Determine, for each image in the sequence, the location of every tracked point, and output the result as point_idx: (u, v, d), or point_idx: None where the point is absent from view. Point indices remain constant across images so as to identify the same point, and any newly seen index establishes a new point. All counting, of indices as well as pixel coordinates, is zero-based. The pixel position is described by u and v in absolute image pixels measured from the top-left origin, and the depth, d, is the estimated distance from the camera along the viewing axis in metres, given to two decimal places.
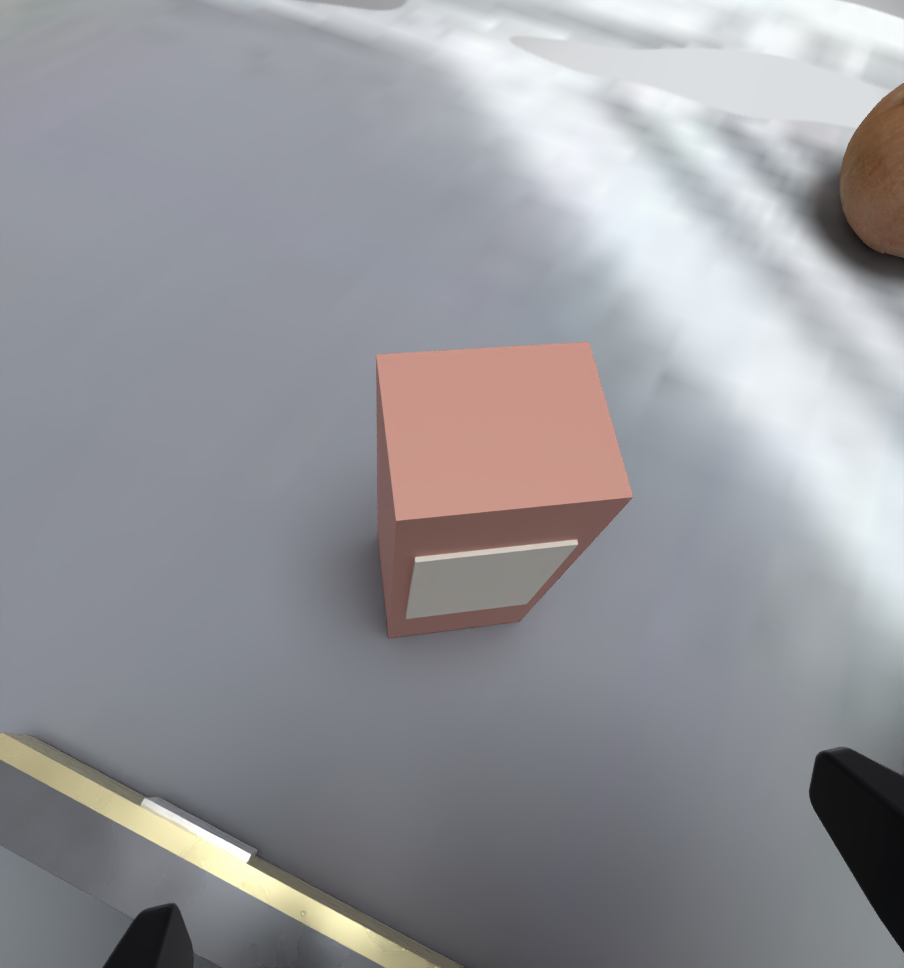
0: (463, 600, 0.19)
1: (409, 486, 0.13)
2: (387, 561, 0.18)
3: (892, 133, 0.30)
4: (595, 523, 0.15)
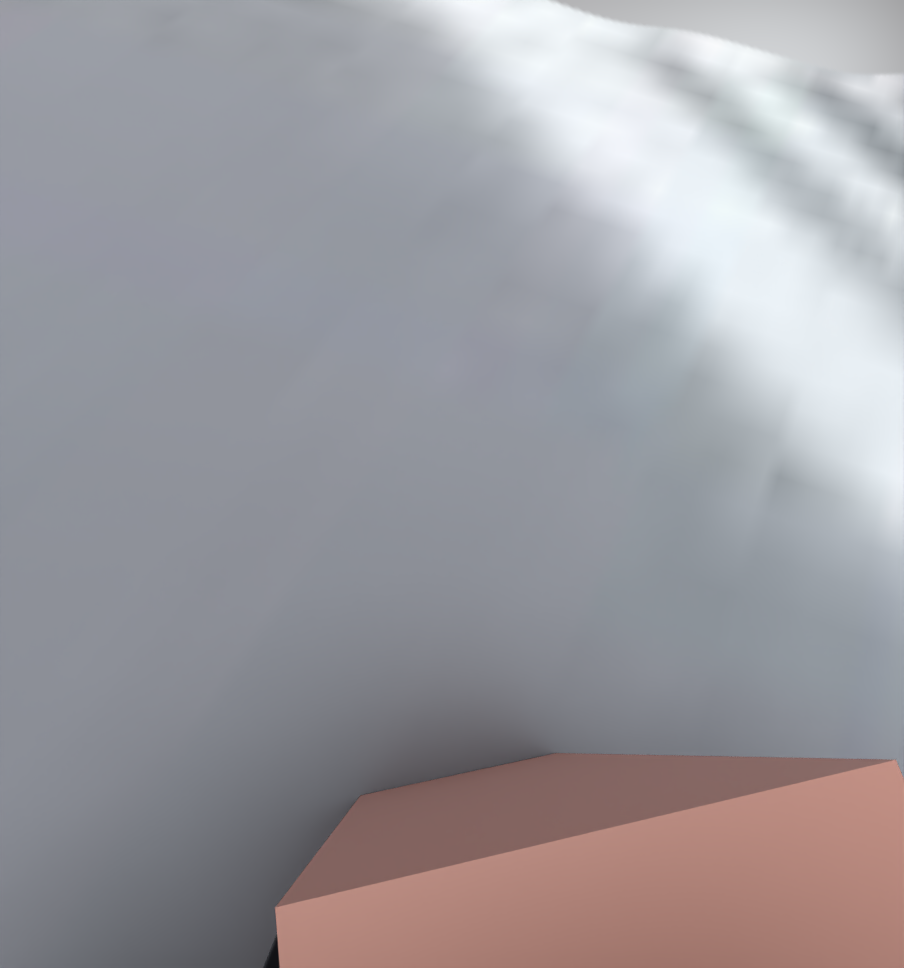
0: None
1: None
2: None
3: None
4: None
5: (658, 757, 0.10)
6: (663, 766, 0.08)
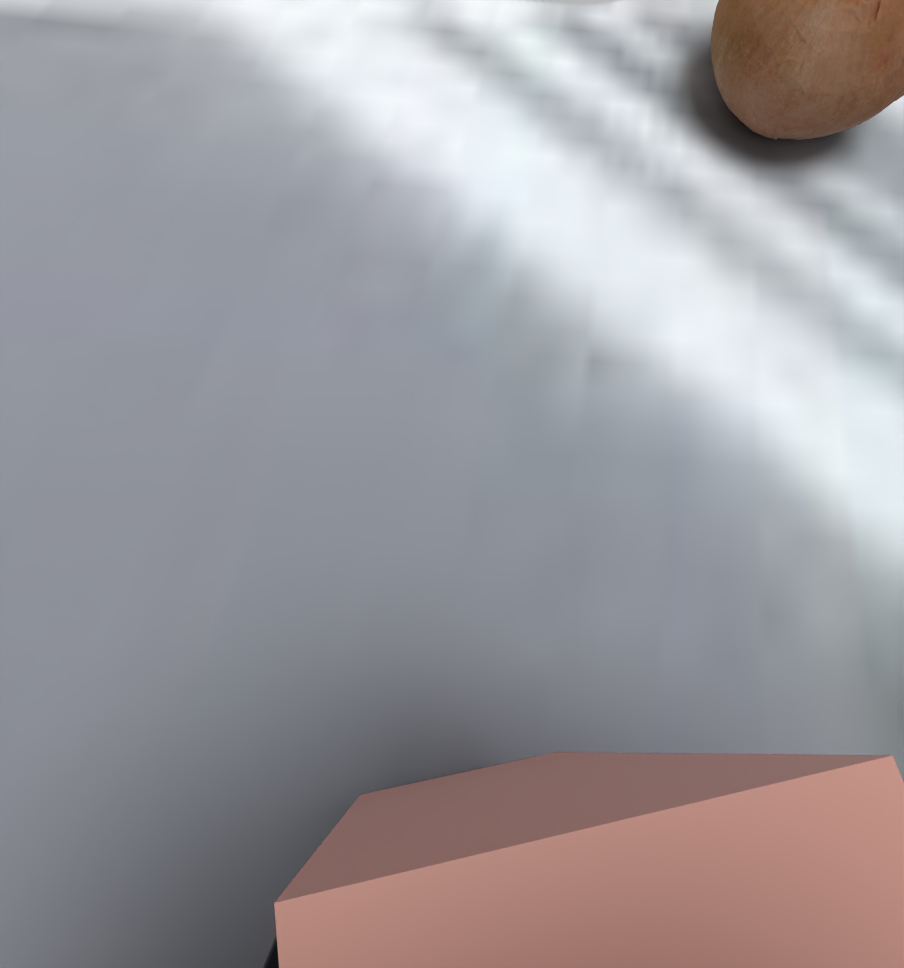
0: None
1: None
2: None
3: (764, 4, 0.25)
4: None
5: (656, 755, 0.10)
6: (661, 763, 0.08)
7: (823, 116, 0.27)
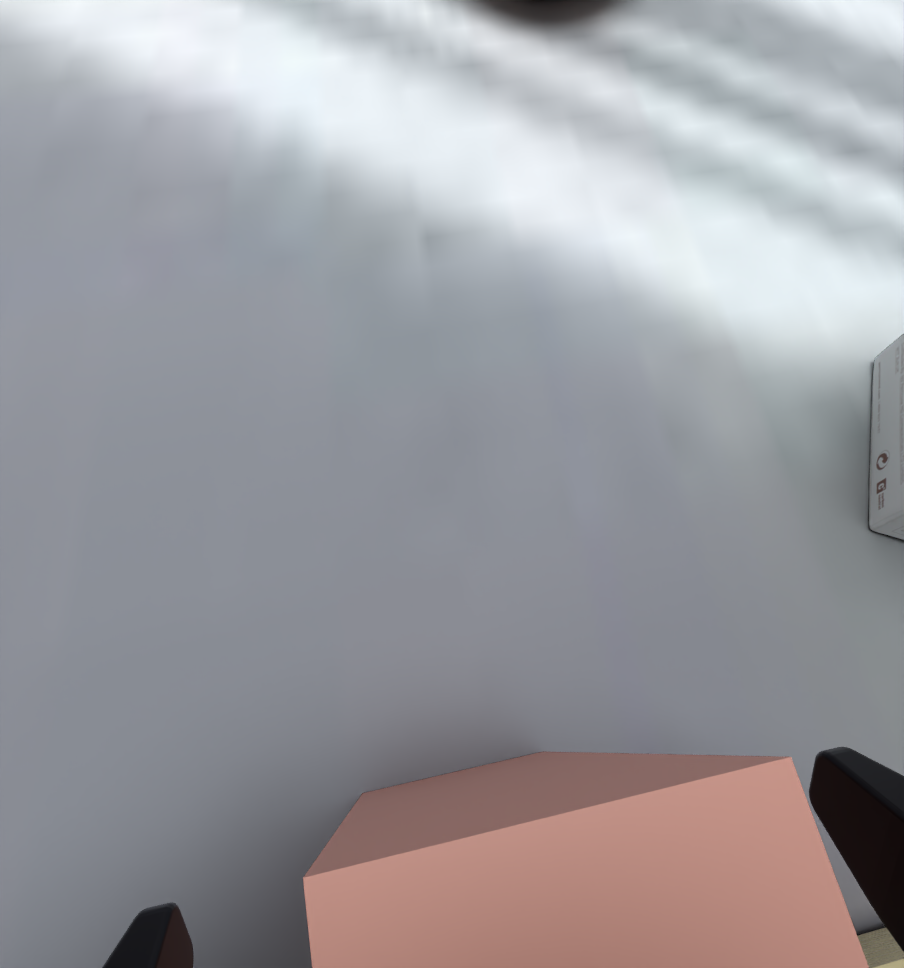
0: None
1: None
2: None
3: None
4: None
5: (624, 755, 0.11)
6: (624, 763, 0.10)
7: None
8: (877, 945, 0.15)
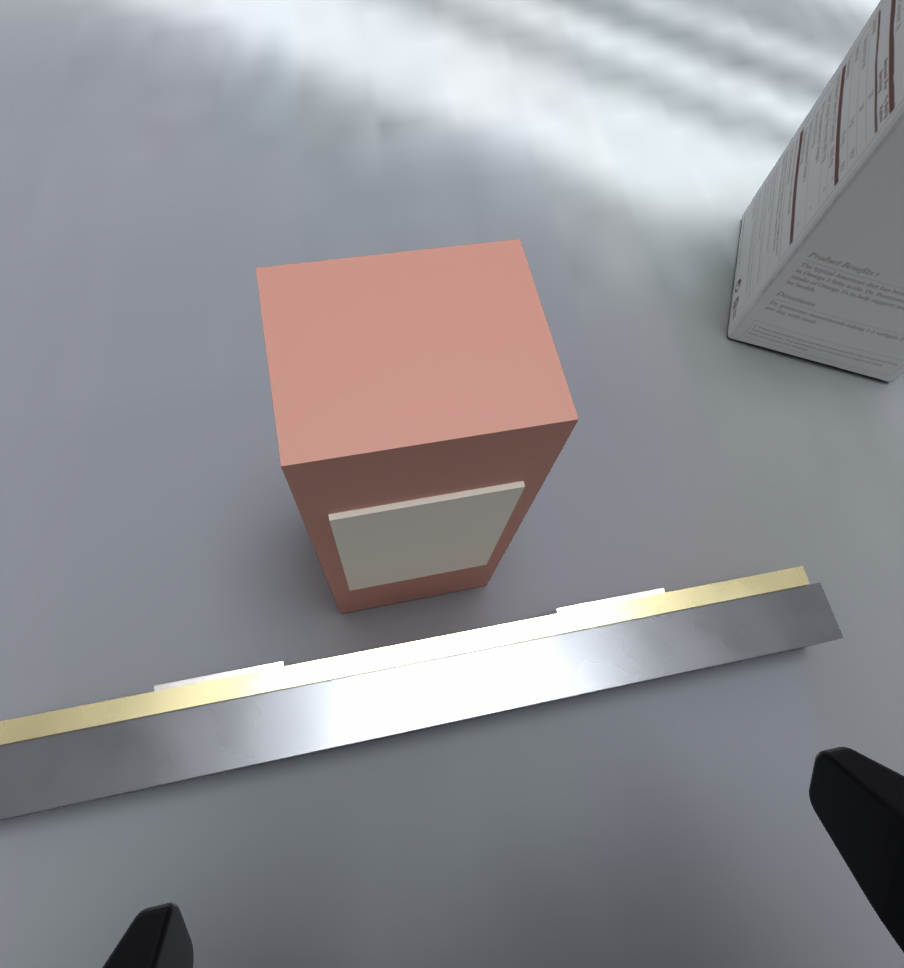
0: (409, 564, 0.17)
1: (298, 423, 0.10)
2: None
3: None
4: (540, 457, 0.12)
5: None
6: None
7: None
8: None
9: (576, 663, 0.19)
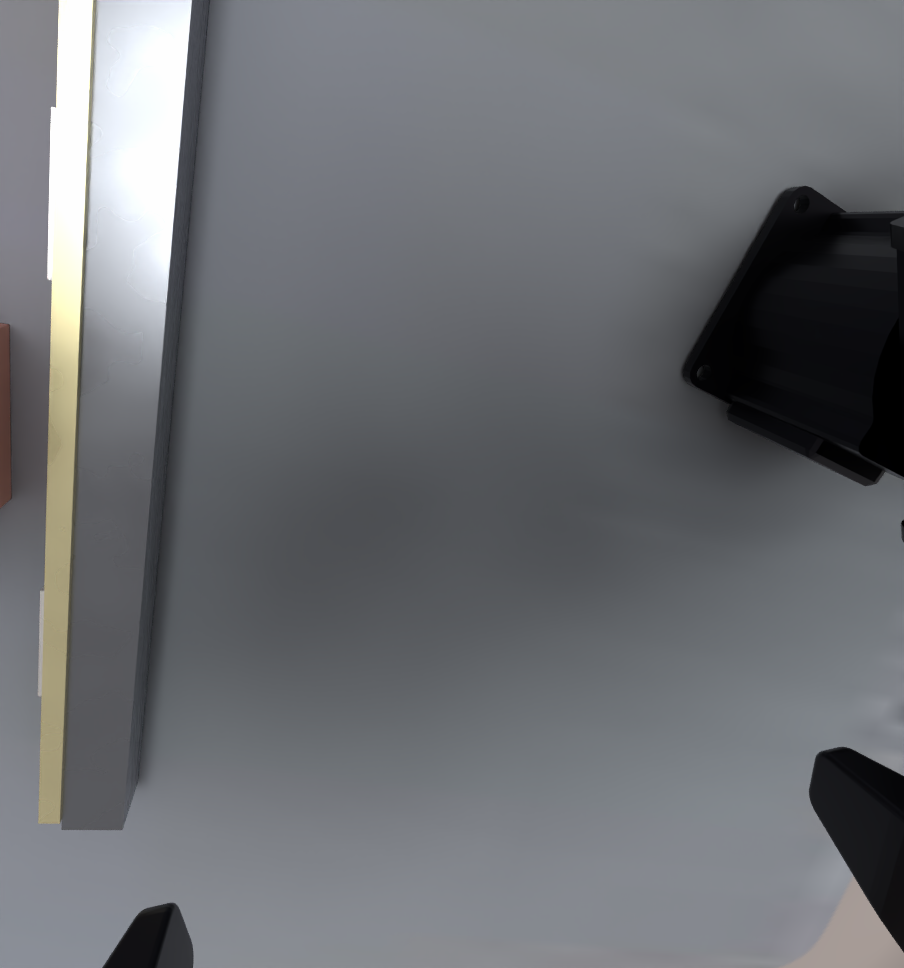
0: None
1: None
2: None
3: None
4: None
5: None
6: None
7: None
8: None
9: (127, 290, 0.15)
